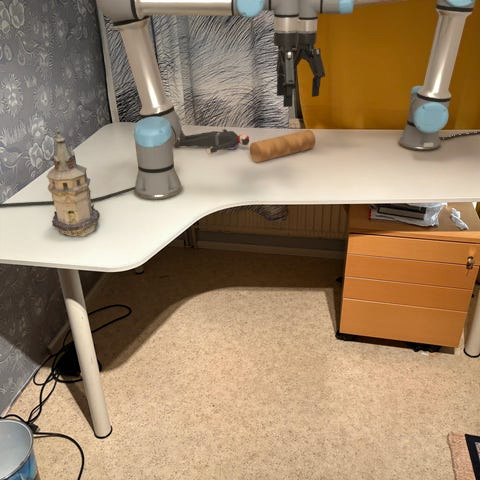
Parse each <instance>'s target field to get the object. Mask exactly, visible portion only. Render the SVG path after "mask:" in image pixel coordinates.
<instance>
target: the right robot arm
mask: <svg viewBox="0 0 480 480" xmlns="http://www.w3.org/2000/svg"><path fill="white" fill-rule="evenodd" d="M405 1H406V0H300V4H299V19H300V20H301V21H300V23H298V24H299V25H298V30H297V31H296V32H298V44H297V45H296V46H292V47H291V51H293V53H294V54H293V63H294V82H295V84H294V85H293V90H294V89H296V88H297V66H298V65H299V64H300V62H301V61H302V60H303V61H306V62H307V64H308V66H309V68H310V71H311V73H312V75H313V78H312V83H311V85H312V86H311V97H312V98H315V97H319V96H320V88H321V79H322V78H324V77H326V72H325V68H324V64H323V63H324V62H323V60H322V59H323V58H322V56H321V53H322V51H321V48H320V47H318V48H315V44H317V39H318V37H317V36H318V35H317V30H318V15H319V14H320V15H322V14H324V15H326V14H327V15H342V16H343V15H350V14H352V13H353V12H354V8H358V7H366V6H375V5H382V4H390V3H396V2H397V3H398V2H405ZM475 4H476V0H437V1H436V5H435V11H436V12H437V14H438V19H437V22H436V27H435V31H434V36H433V39H432V45H431V50H430V53H429V58H428V61H427V62H428V63H427V66H426V67H427V68H426V71H425V76H424V81H423V85H415V86H412V88H411V92H410V95H409V96H410V97H409V98H410V99H409V105H408V112H407V120H406V125H405V127H404V129H403V131H402V133H401V135H400V138H399V141H398V142H399V143H398V144H399V145H400V146H401V147H403V148H405V149H407V150H409V151H410V150H411V151H415V152H416V151H418V152H431V151H435V150H437V149H439V147H440V145H441V144H440V143H441V141H440V140H443V141H444V140H451V139H454V138H457V137H465V136H473V135H479V134H480V130H478V131H476V132H477V133H474V132H475V131H471V132H470V131H469V132H468V133H469V134H466V133H467V132H463V133H456V134H452V135H453V136H452V135H450V136H451V137H449V136H445V137H444V136H439V131H441V130H442V129H444V128H445V126H446V125H447V123H448V121H449V117H450V116H449V115H450V113H449V106H450V103H451V98H452V93H450V91H449V88H450V84H451V79H452V77H453V72H454V68H455V64H456V59H457V56H458V52H459V48H460V43H461V40H462V36H463V31H464V27H465V24H466V19H467V17H468V16H470V15H472V14H473V11H474V8H475ZM459 134H461V135H459ZM454 135H455V136H454ZM443 138H444V139H443Z"/></svg>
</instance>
